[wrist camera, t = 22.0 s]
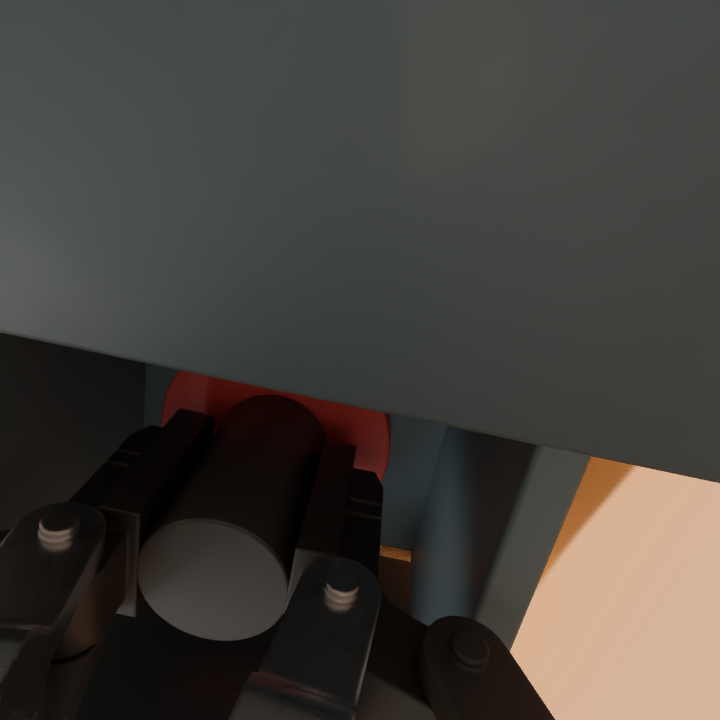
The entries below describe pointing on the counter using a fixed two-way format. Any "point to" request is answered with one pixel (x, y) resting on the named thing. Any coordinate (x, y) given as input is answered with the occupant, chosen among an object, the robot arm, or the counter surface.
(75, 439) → the drawer
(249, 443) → the lid
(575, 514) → the counter surface
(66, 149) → the cabinet
